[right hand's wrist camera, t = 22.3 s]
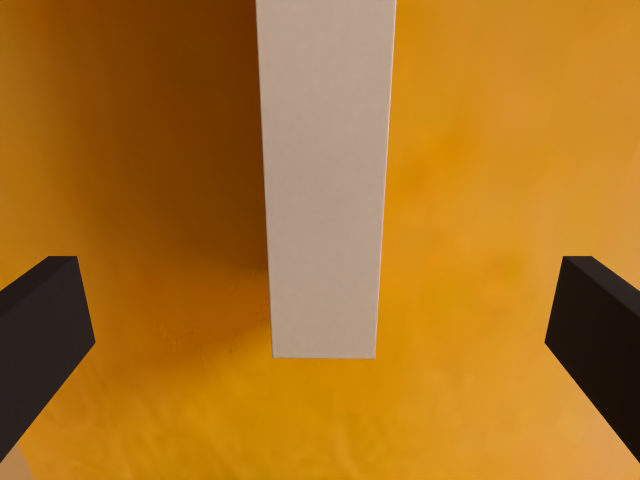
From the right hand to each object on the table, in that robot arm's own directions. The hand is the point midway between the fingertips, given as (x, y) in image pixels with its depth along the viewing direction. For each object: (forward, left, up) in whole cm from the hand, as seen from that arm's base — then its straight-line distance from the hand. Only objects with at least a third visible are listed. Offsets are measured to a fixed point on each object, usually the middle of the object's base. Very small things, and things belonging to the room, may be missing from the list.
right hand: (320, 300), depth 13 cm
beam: (+23, +5, -15) cm, 27 cm away
